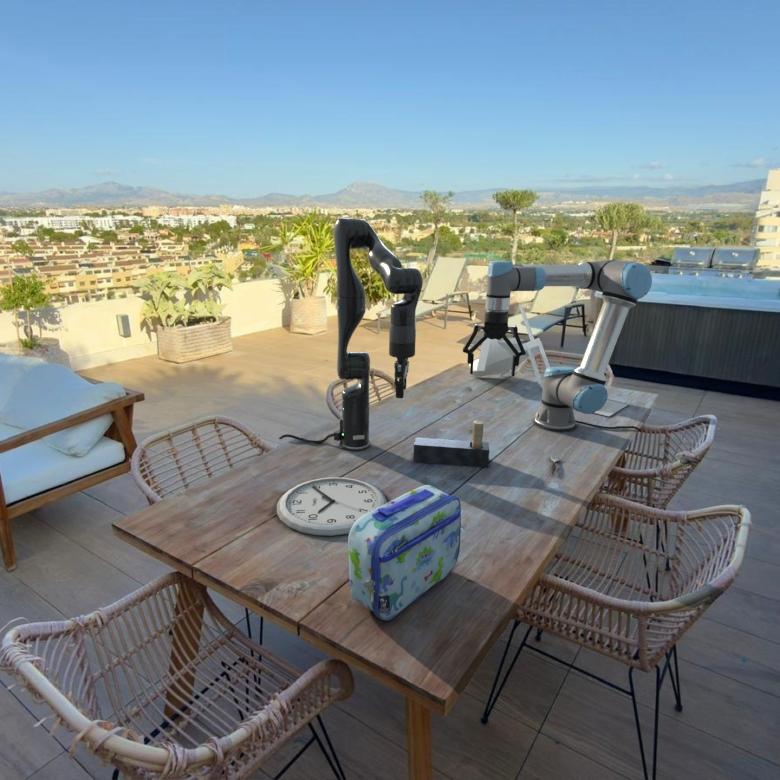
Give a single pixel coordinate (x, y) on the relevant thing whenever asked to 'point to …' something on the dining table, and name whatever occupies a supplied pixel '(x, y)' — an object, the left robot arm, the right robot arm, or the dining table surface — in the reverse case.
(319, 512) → the wall clock
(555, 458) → the fork
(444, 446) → the peg board
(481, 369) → the white plastic object
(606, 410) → the invitation card
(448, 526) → the lunch box
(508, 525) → the dining table surface
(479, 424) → the peg
